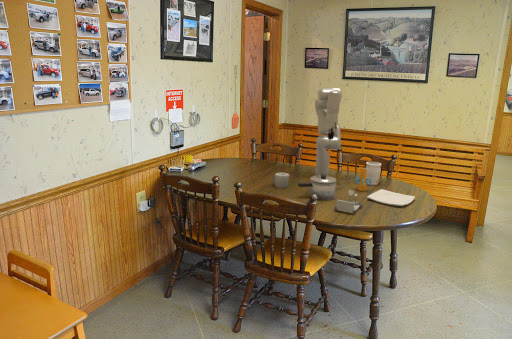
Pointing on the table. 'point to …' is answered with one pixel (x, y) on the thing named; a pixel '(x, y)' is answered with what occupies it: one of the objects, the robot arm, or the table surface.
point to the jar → (373, 172)
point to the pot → (320, 189)
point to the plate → (391, 198)
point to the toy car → (348, 204)
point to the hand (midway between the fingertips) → (330, 139)
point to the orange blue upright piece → (363, 180)
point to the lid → (323, 179)
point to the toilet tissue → (281, 180)
